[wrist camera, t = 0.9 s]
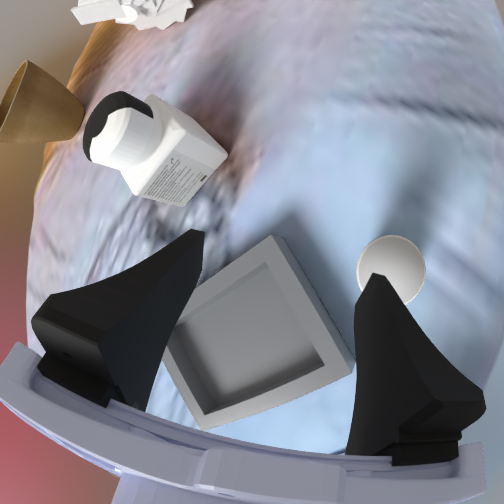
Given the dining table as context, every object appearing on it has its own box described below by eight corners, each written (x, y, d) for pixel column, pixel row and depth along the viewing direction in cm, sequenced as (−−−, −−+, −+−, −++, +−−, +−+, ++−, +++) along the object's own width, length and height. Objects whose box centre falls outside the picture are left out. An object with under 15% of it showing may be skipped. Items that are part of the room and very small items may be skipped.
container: (154, 167, 35) (67, 137, 23) (193, 118, 32) (112, 70, 21) (184, 208, 32) (86, 185, 20) (231, 155, 30) (142, 104, 18)
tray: (355, 361, 24) (351, 373, 21) (216, 419, 30) (201, 431, 27) (283, 237, 27) (270, 234, 25) (163, 320, 33) (145, 324, 30)
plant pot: (100, 74, 43) (35, 43, 29) (93, 137, 42) (12, 110, 27) (59, 111, 49) (2, 91, 35) (52, 170, 48) (-15, 156, 33)
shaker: (423, 277, 22) (440, 283, 15) (380, 305, 23) (378, 323, 16) (396, 232, 23) (401, 218, 16) (354, 261, 24) (341, 260, 17)
